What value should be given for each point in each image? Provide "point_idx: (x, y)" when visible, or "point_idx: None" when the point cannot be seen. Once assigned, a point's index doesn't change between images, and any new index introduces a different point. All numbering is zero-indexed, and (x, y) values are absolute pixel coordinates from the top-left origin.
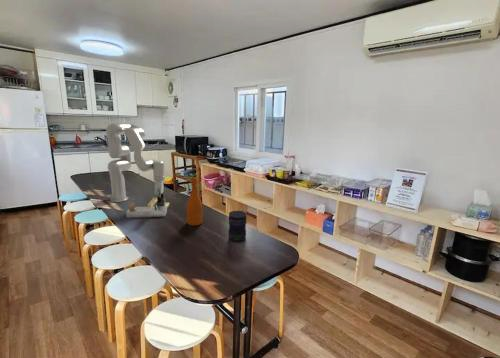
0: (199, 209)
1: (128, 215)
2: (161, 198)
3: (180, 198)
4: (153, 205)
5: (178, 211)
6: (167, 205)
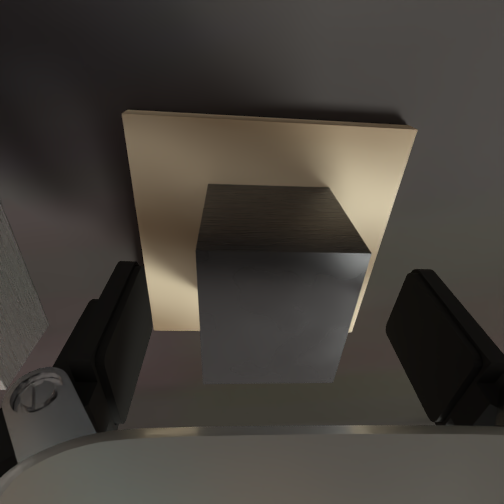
0: None
1: None
2: (292, 342)
3: None
4: (266, 133)
5: None
6: None
